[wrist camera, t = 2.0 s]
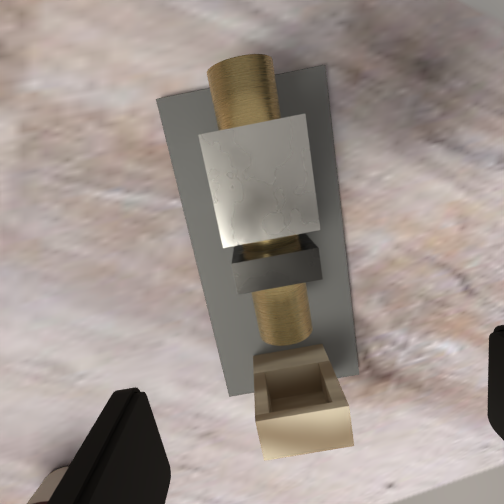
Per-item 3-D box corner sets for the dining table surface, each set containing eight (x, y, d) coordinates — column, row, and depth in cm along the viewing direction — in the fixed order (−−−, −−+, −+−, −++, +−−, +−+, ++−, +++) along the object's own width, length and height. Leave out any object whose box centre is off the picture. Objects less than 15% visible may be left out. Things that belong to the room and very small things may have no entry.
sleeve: (213, 144, 25) (198, 134, 17) (286, 130, 24) (305, 113, 17) (229, 224, 26) (223, 248, 19) (298, 211, 26) (320, 229, 18)
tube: (203, 88, 22) (186, 56, 15) (277, 73, 22) (290, 35, 15) (251, 317, 26) (253, 364, 20) (311, 306, 26) (332, 350, 20)
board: (159, 101, 25) (155, 99, 24) (321, 68, 24) (325, 64, 23) (229, 389, 32) (229, 396, 31) (355, 368, 31) (359, 374, 30)
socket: (252, 355, 30) (255, 421, 22) (322, 343, 30) (349, 405, 22) (259, 387, 31) (264, 460, 23) (326, 375, 30) (354, 445, 23)
